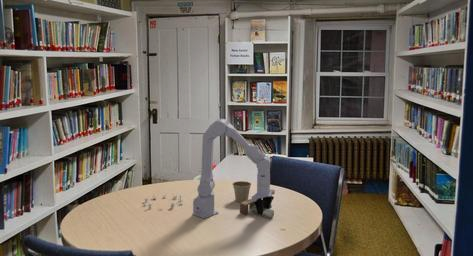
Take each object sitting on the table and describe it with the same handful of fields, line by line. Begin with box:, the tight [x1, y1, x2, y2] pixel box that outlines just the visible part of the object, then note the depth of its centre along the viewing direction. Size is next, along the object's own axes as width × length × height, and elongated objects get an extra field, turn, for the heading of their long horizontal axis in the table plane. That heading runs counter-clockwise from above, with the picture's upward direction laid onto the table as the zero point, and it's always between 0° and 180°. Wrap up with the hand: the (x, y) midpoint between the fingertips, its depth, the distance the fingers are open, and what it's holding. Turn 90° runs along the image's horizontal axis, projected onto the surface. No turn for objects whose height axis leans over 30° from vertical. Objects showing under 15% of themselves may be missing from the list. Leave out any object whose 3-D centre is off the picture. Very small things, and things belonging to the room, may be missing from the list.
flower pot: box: [232, 180, 252, 203], centre depth 217 cm, size 9×9×9 cm
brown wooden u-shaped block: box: [239, 198, 255, 216], centre depth 201 cm, size 9×4×5 cm, turn 139°
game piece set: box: [143, 192, 183, 211], centre depth 213 cm, size 19×20×4 cm
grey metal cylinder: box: [250, 205, 275, 220], centre depth 196 cm, size 10×4×4 cm, turn 49°
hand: (263, 213), depth 196 cm, fingers closed on grey metal cylinder, 4 cm apart
